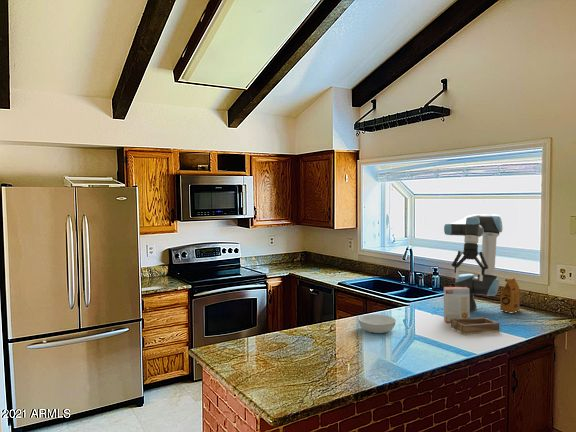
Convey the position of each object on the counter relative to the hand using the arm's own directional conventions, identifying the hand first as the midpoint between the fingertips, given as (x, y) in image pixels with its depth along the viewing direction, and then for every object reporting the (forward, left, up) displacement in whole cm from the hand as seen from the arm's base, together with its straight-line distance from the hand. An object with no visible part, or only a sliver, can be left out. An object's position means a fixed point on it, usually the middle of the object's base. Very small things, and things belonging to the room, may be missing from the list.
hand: (468, 280), depth 259 cm
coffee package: (-48, -27, -28) cm, 62 cm away
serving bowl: (+54, -7, -28) cm, 61 cm away
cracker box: (0, -13, -28) cm, 31 cm away
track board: (0, +5, -28) cm, 28 cm away
